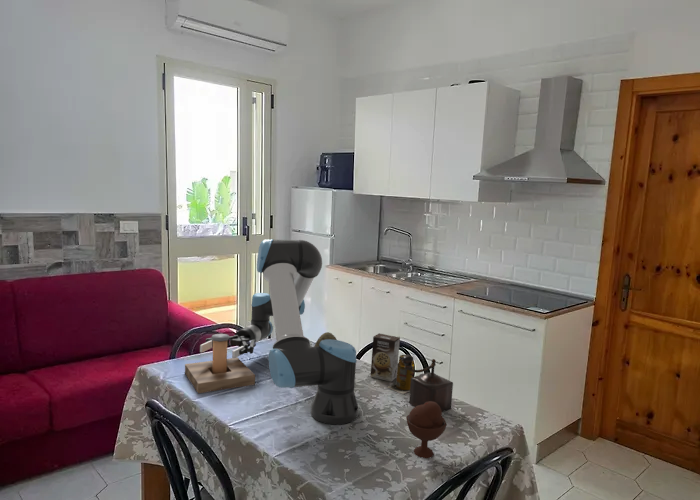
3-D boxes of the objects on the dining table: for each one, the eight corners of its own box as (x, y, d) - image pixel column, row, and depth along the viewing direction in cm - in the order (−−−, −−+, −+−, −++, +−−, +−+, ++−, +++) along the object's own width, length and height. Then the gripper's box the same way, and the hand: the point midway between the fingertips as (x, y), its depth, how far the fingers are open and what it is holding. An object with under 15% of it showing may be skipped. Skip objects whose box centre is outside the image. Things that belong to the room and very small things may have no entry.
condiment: (417, 389, 179) (419, 357, 178) (402, 394, 173) (404, 362, 172) (402, 382, 184) (404, 352, 183) (387, 388, 178) (389, 356, 177)
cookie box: (369, 377, 188) (372, 336, 186) (375, 372, 194) (378, 332, 192) (391, 382, 184) (394, 340, 182) (397, 376, 190) (400, 336, 188)
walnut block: (254, 384, 174) (255, 375, 174) (198, 393, 164) (198, 383, 164) (237, 366, 191) (237, 357, 191) (184, 373, 181) (185, 364, 180)
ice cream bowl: (438, 443, 140) (442, 393, 138) (447, 464, 129) (452, 410, 127) (401, 441, 139) (405, 391, 138) (407, 463, 128) (411, 409, 127)
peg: (229, 380, 177) (231, 337, 175) (213, 382, 174) (214, 339, 172) (224, 374, 182) (226, 333, 180) (208, 376, 179) (209, 334, 177)
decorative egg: (333, 375, 187) (336, 337, 185) (308, 371, 190) (309, 333, 188) (342, 366, 197) (345, 330, 195) (318, 362, 200) (320, 327, 199)
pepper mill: (428, 396, 172) (432, 347, 170) (452, 408, 164) (456, 357, 162) (395, 405, 163) (399, 354, 161) (418, 419, 154) (422, 364, 152)
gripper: (275, 350, 191) (246, 367, 171) (220, 341, 199) (187, 356, 179) (275, 332, 190) (247, 347, 170) (221, 323, 198) (188, 336, 178)
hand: (216, 351), depth 175 cm, fingers open, 13 cm apart
